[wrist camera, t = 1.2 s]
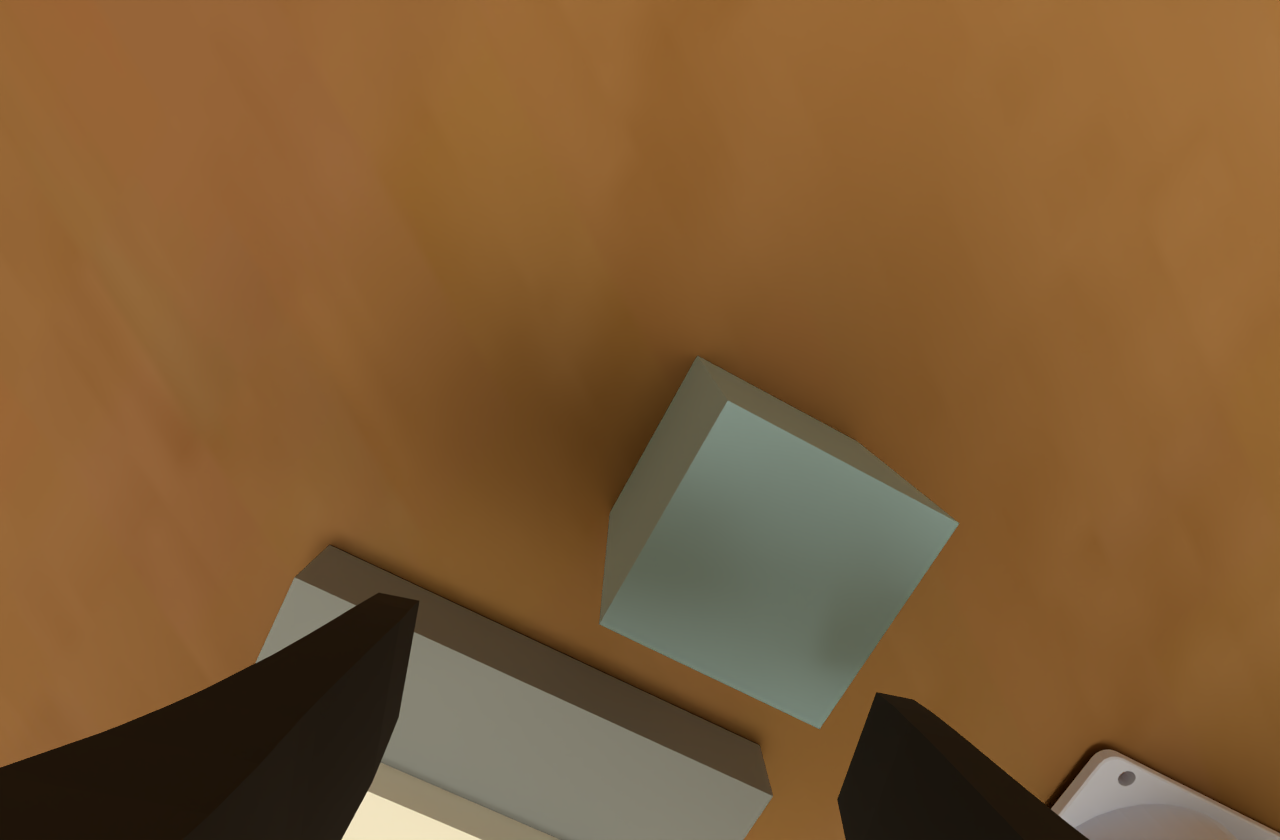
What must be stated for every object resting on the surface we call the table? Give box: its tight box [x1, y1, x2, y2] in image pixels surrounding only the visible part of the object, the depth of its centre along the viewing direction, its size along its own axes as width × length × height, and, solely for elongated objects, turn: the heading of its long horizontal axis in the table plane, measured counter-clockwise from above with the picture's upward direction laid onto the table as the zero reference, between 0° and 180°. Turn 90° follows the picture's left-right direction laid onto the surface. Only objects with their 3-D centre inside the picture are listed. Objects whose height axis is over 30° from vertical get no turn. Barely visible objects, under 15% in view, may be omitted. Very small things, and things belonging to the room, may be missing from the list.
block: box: [599, 356, 959, 729], centre depth 16 cm, size 5×5×6 cm
